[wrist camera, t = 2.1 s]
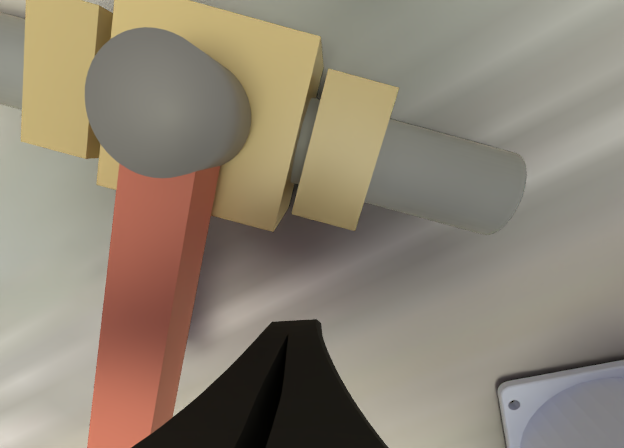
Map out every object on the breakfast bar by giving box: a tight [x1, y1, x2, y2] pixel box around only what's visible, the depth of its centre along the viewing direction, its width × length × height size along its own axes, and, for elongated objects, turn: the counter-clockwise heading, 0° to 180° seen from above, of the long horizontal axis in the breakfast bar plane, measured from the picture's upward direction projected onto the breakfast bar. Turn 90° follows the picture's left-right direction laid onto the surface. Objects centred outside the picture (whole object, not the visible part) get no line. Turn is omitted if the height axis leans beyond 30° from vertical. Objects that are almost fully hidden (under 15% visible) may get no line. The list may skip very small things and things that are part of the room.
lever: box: [85, 27, 251, 448], centre depth 9 cm, size 12×3×2 cm, turn 165°
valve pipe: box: [0, 0, 527, 235], centre depth 11 cm, size 20×6×4 cm, turn 75°
